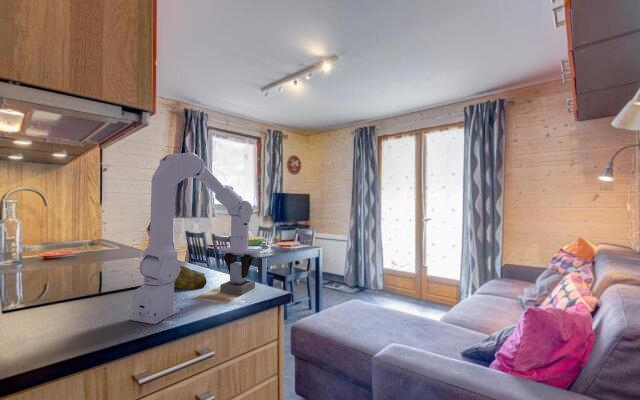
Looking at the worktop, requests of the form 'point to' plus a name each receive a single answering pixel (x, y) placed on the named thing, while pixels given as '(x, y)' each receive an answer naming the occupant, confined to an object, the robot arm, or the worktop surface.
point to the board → (217, 296)
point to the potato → (189, 279)
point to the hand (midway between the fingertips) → (238, 276)
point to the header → (237, 287)
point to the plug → (236, 273)
